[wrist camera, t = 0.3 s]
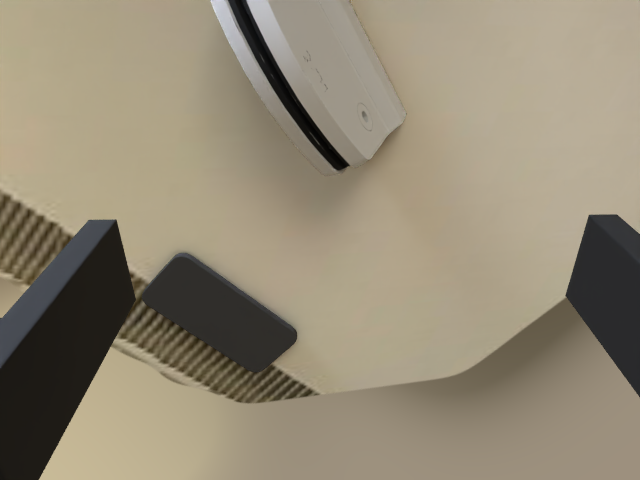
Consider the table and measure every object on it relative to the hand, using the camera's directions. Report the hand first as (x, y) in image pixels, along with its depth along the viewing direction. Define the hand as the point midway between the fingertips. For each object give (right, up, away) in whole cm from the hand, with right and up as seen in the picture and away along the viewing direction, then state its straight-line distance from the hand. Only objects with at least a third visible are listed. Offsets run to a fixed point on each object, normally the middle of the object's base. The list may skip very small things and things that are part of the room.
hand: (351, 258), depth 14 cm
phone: (-11, -7, +36) cm, 38 cm away
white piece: (-1, +15, +24) cm, 28 cm away
